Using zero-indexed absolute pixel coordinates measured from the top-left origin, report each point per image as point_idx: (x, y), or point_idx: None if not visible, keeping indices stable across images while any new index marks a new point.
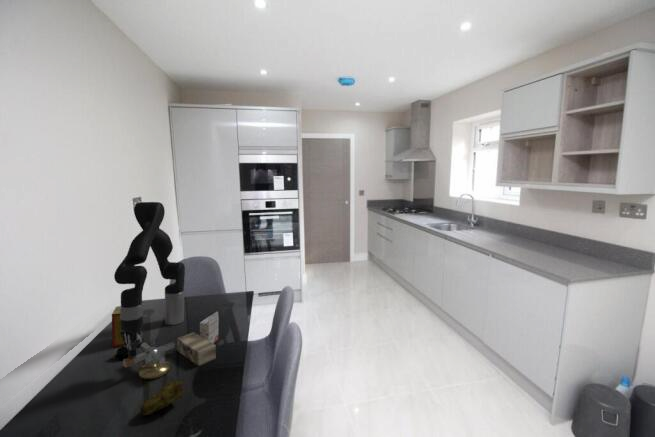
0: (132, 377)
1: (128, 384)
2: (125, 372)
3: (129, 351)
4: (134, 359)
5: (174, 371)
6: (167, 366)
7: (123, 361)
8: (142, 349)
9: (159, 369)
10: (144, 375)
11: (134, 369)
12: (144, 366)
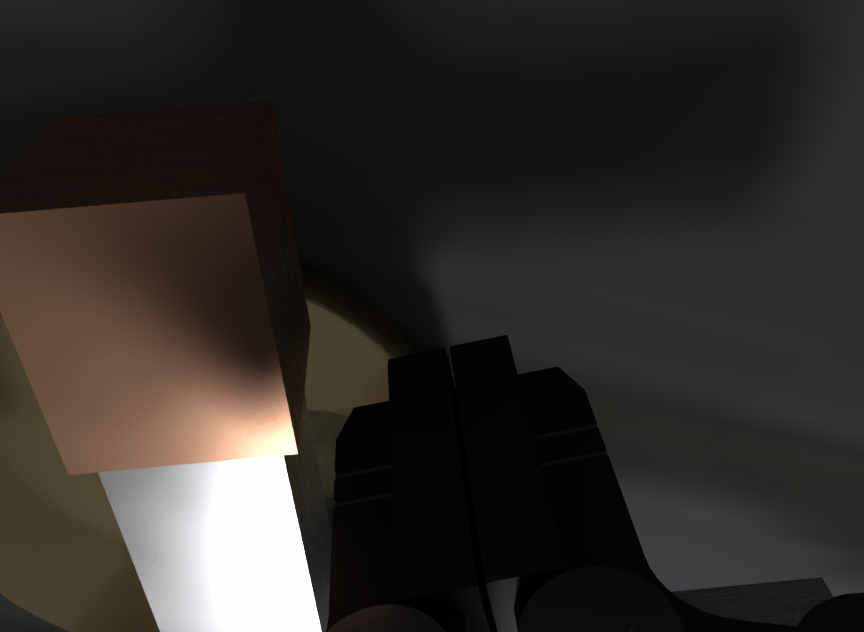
0: None
1: (36, 10)
2: (556, 92)
3: (455, 526)
4: (84, 445)
5: None
6: (97, 620)
7: (231, 159)
8: None
9: (73, 532)
10: (5, 324)
11: (530, 241)
12: (355, 399)
